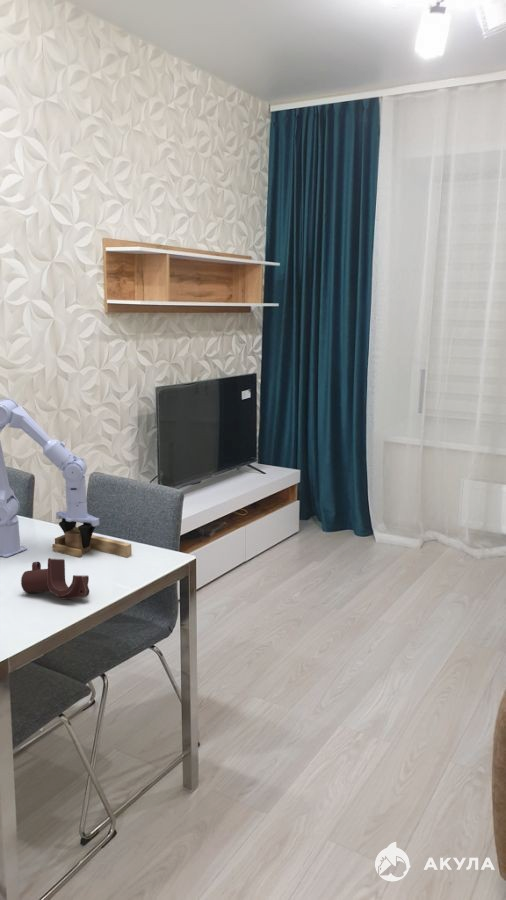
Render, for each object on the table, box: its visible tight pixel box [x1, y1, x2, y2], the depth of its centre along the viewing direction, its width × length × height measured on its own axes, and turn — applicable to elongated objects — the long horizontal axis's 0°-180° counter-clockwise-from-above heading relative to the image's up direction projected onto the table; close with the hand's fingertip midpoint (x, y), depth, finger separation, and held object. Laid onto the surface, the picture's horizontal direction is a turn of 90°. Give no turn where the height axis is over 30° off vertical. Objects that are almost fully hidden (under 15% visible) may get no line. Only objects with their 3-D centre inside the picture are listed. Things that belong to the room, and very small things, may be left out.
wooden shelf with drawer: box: [52, 534, 133, 559], centre depth 207 cm, size 22×9×4 cm, turn 60°
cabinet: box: [64, 526, 92, 555], centre depth 208 cm, size 5×5×7 cm
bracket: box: [20, 557, 90, 600], centre depth 178 cm, size 6×17×10 cm, turn 75°
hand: (78, 545), depth 209 cm, fingers closed on cabinet, 5 cm apart
